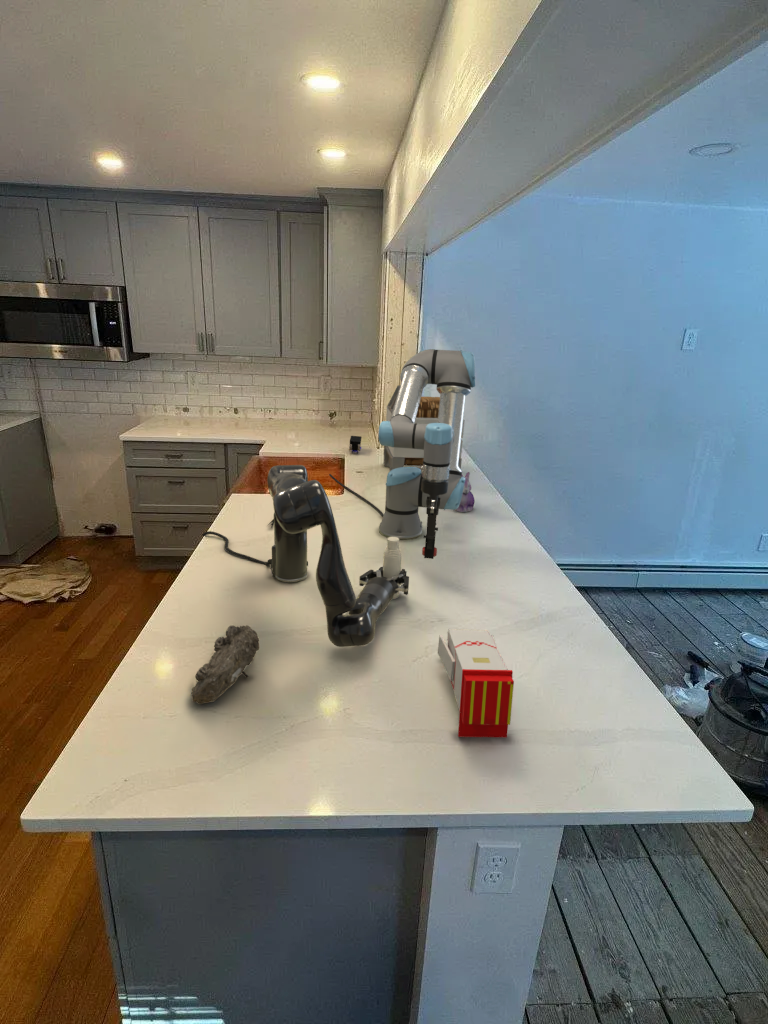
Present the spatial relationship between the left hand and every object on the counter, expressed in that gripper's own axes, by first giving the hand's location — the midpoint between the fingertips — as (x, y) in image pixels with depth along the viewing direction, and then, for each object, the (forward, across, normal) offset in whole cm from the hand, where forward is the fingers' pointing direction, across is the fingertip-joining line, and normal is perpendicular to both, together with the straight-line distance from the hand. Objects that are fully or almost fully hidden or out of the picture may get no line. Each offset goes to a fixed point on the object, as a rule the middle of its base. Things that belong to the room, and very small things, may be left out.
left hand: (394, 570), depth 157 cm
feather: (+40, +57, +6) cm, 70 cm away
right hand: (+14, -7, 0) cm, 15 cm away
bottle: (-3, 0, +6) cm, 7 cm away
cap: (+14, -7, -2) cm, 15 cm away
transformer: (+121, +23, +6) cm, 123 cm away
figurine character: (+147, +66, +6) cm, 161 cm away
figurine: (+78, -6, +6) cm, 78 cm away
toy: (-37, -28, +6) cm, 47 cm away
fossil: (-50, +21, +6) cm, 55 cm away
